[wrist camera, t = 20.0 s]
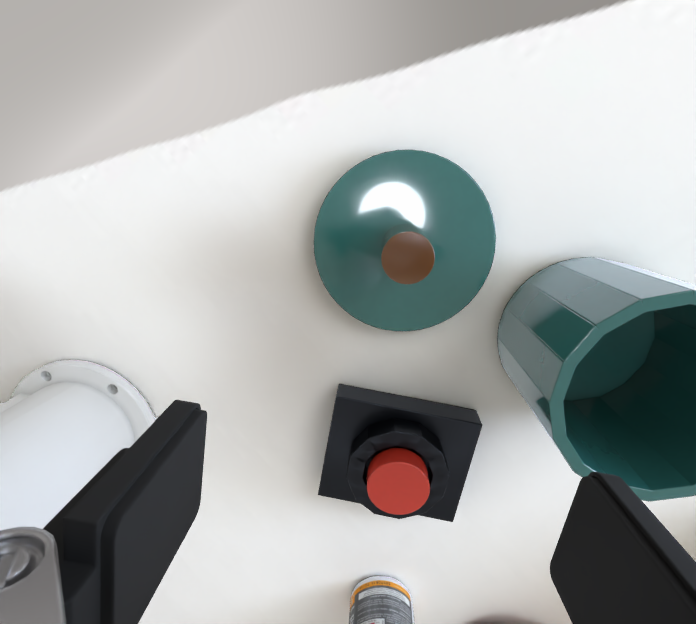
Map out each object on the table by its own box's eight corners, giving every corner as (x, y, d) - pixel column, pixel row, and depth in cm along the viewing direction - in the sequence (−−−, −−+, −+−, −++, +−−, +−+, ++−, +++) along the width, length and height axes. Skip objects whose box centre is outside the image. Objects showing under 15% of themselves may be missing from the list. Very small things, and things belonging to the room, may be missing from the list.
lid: (304, 309, 32) (285, 339, 26) (331, 136, 29) (316, 120, 22) (466, 340, 32) (487, 378, 26) (513, 169, 28) (552, 163, 22)
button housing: (321, 477, 36) (314, 511, 32) (339, 383, 34) (333, 408, 30) (448, 503, 36) (456, 540, 32) (476, 409, 33) (488, 438, 30)
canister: (479, 389, 33) (522, 476, 23) (522, 243, 30) (594, 271, 20) (626, 417, 33) (735, 519, 23) (686, 273, 29) (844, 317, 19)
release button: (362, 491, 32) (361, 508, 30) (373, 442, 31) (373, 456, 29) (420, 503, 32) (422, 520, 30) (433, 453, 31) (436, 469, 29)
